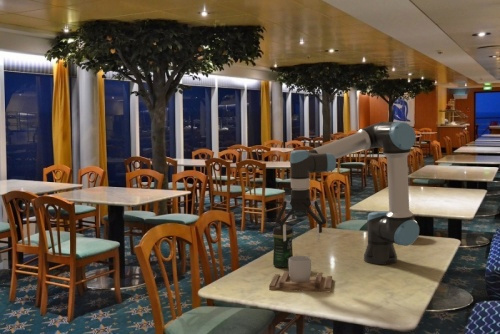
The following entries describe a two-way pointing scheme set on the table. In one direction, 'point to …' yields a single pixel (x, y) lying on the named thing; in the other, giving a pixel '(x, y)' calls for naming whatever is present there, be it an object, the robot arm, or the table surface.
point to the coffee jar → (282, 247)
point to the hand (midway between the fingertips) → (301, 240)
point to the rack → (301, 283)
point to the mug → (300, 268)
